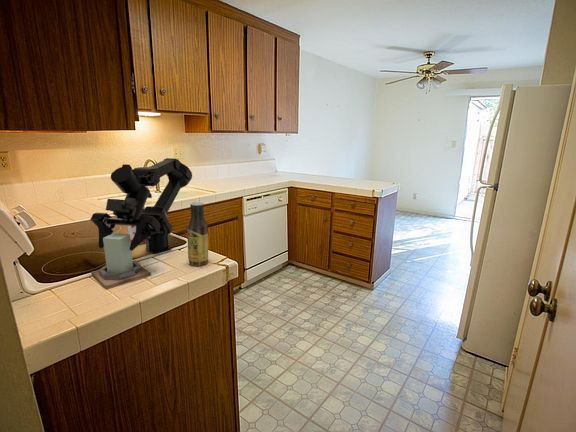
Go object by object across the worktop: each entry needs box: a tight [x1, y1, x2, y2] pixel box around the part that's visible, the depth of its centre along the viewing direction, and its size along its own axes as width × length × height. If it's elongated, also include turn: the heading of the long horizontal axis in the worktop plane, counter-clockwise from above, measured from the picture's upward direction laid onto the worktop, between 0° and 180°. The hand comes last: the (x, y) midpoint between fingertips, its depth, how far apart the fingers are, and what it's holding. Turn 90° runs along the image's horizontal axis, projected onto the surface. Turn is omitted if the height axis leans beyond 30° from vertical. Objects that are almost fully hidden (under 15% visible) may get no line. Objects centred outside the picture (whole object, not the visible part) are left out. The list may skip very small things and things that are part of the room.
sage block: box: [103, 232, 134, 273], centre depth 89 cm, size 4×5×11 cm
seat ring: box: [98, 260, 142, 280], centre depth 90 cm, size 10×10×2 cm
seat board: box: [91, 265, 152, 290], centre depth 91 cm, size 12×12×1 cm
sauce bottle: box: [186, 201, 209, 267], centre depth 98 cm, size 6×6×20 cm
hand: (115, 249), depth 87 cm, fingers open, 9 cm apart
